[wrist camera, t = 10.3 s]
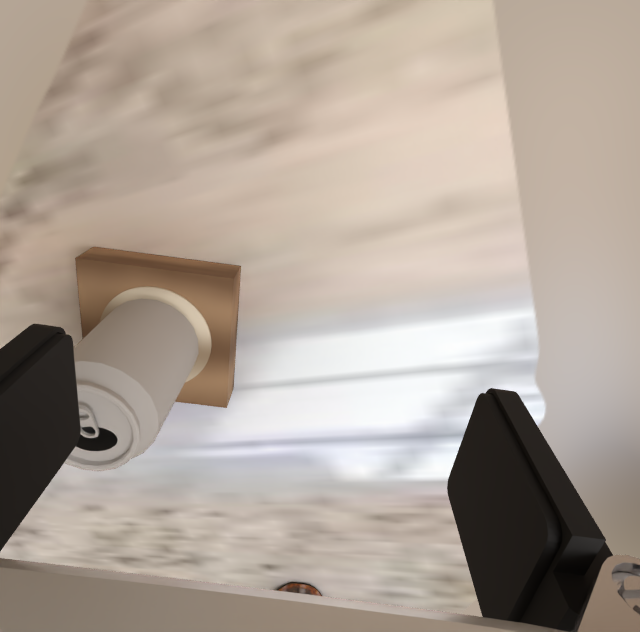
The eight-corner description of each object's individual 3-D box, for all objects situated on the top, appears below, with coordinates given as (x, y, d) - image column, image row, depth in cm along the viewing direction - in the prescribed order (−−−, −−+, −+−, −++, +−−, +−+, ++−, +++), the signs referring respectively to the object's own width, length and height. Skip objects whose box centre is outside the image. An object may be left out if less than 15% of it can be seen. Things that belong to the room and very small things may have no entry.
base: (93, 246, 38) (74, 258, 35) (240, 266, 39) (233, 279, 36) (103, 372, 43) (86, 392, 40) (233, 388, 44) (226, 409, 41)
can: (120, 378, 40) (40, 483, 29) (98, 296, 37) (-2, 379, 26) (208, 375, 39) (160, 480, 29) (193, 291, 36) (133, 374, 25)
